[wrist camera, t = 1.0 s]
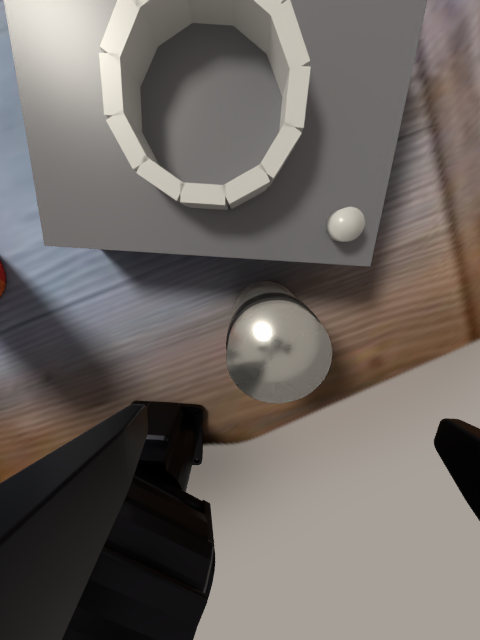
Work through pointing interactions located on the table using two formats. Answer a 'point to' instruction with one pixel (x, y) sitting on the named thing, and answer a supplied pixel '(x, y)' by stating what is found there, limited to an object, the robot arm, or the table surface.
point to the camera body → (214, 122)
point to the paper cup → (2, 279)
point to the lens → (276, 345)
